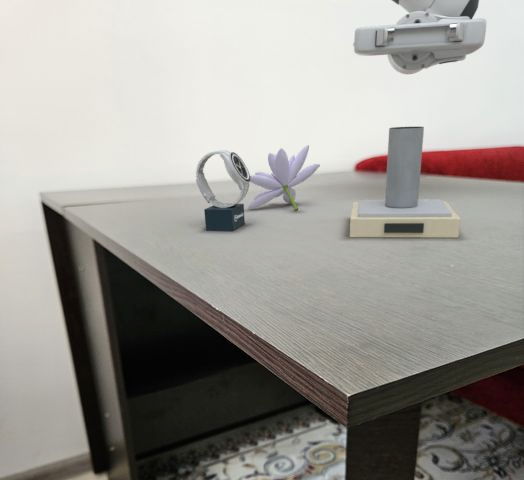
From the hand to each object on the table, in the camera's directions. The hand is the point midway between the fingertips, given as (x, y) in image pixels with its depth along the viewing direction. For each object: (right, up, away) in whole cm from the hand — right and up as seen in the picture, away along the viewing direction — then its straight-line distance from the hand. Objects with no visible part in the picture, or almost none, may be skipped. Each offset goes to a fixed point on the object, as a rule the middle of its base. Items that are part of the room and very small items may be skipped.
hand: (421, 32), depth 78 cm
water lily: (-20, -22, +17) cm, 34 cm away
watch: (-29, -29, +3) cm, 41 cm away
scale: (-4, -30, -2) cm, 30 cm away
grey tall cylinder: (-4, -27, -3) cm, 28 cm away
